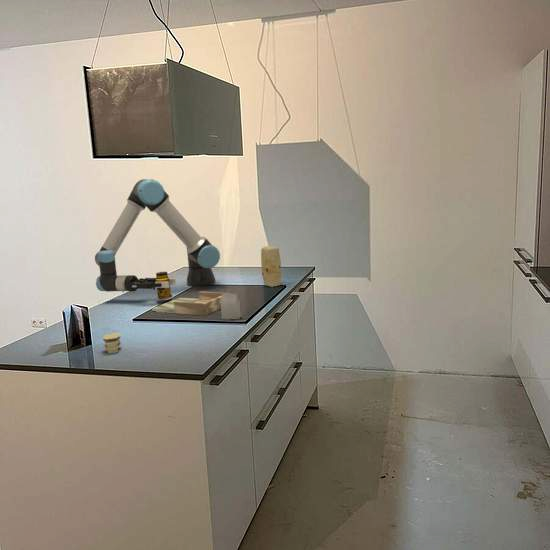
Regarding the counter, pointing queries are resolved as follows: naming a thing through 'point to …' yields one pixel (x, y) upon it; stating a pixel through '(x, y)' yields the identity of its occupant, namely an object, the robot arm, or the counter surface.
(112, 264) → the robot arm
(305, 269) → the counter surface
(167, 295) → the condiment
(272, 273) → the food model
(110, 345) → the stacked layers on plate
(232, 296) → the tea bag
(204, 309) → the open-front wooden tray
